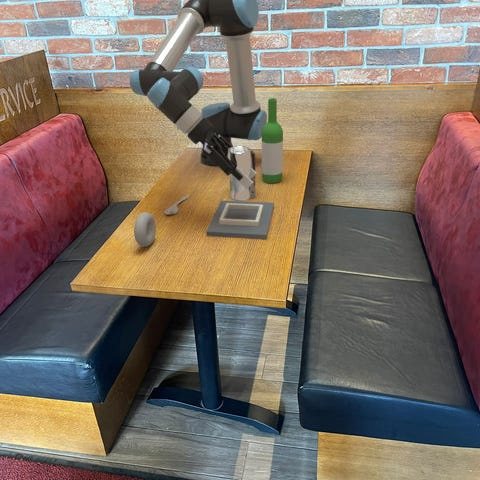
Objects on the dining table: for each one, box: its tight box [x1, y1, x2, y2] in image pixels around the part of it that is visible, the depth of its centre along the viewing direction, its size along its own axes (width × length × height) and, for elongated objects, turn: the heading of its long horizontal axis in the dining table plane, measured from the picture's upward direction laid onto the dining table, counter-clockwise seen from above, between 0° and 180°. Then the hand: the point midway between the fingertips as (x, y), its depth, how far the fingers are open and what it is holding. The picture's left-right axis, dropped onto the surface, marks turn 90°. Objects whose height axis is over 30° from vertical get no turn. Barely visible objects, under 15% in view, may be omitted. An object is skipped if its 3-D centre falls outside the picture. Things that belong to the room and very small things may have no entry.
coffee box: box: [229, 145, 256, 200], centre depth 157 cm, size 9×6×16 cm
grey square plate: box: [205, 199, 275, 240], centre depth 142 cm, size 22×18×3 cm
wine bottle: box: [261, 98, 284, 184], centre depth 164 cm, size 8×8×30 cm
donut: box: [133, 211, 157, 248], centre depth 129 cm, size 10×3×10 cm, turn 167°
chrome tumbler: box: [228, 145, 251, 201], centre depth 135 cm, size 7×7×15 cm
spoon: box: [164, 194, 190, 215], centre depth 155 cm, size 4×21×2 cm, turn 164°
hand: (251, 180), depth 135 cm, fingers closed on chrome tumbler, 7 cm apart
